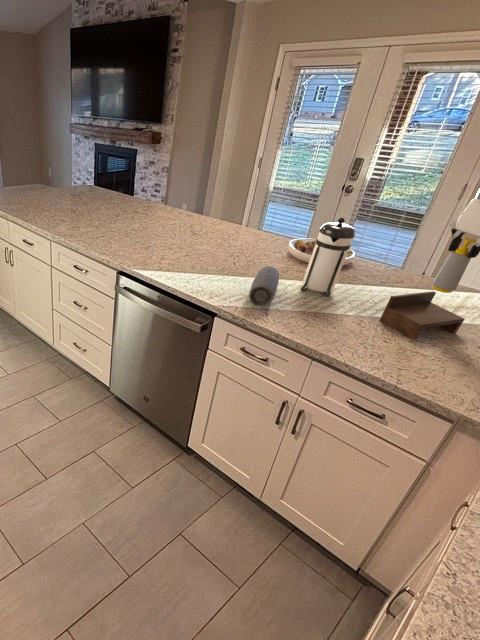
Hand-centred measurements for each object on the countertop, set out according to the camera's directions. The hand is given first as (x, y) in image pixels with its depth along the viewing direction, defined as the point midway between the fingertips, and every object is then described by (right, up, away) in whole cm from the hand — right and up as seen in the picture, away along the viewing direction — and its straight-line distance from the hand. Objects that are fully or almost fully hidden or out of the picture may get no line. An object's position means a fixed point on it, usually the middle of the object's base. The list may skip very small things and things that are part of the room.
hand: (461, 253), depth 135 cm
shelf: (-4, -23, +14) cm, 27 cm away
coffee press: (-27, -6, +39) cm, 48 cm away
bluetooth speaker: (-54, -11, +29) cm, 63 cm away
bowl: (-9, +15, +72) cm, 74 cm away
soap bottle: (0, -11, +7) cm, 13 cm away
